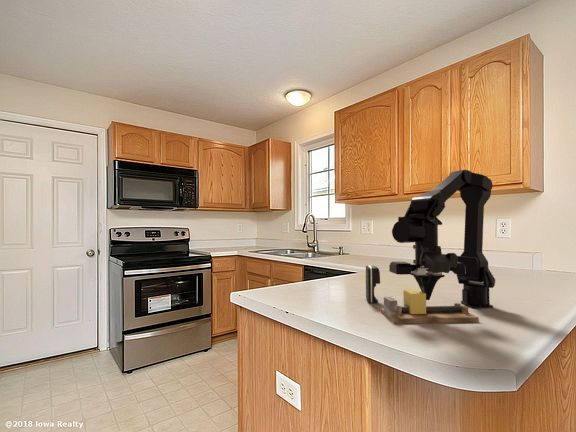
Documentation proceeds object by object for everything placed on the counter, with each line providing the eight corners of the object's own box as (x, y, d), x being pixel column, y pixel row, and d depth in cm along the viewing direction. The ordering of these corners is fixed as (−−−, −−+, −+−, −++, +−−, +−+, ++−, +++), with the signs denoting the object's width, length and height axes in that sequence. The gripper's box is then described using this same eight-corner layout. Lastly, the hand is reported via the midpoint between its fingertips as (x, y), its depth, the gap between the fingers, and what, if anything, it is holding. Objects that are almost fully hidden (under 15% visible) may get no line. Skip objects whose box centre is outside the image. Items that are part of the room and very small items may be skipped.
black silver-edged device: (381, 304, 99) (380, 267, 100) (368, 303, 100) (368, 267, 100) (377, 298, 106) (376, 264, 106) (365, 298, 107) (365, 264, 107)
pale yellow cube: (417, 309, 88) (417, 289, 88) (426, 313, 83) (425, 293, 83) (403, 309, 88) (403, 289, 88) (411, 314, 83) (411, 293, 83)
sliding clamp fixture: (456, 311, 91) (455, 293, 91) (478, 321, 81) (478, 302, 81) (380, 312, 90) (380, 294, 90) (394, 323, 80) (393, 303, 80)
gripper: (405, 243, 77) (405, 308, 77) (478, 243, 78) (480, 307, 78) (388, 241, 88) (388, 297, 88) (453, 241, 89) (454, 296, 89)
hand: (427, 299), depth 85 cm, fingers closed
